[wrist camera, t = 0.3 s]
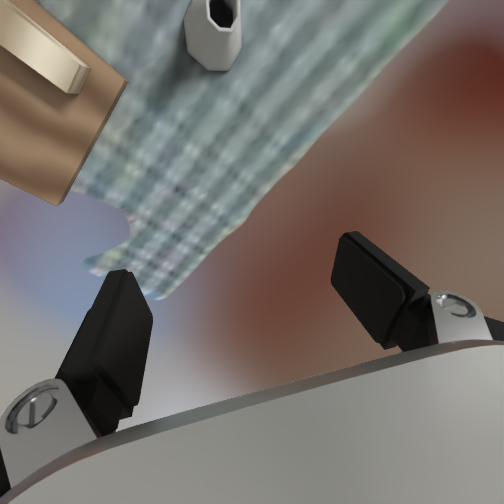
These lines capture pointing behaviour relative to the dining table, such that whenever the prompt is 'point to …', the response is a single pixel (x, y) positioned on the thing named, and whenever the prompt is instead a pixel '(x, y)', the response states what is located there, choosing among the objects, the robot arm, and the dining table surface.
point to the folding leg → (40, 49)
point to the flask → (214, 33)
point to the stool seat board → (51, 115)
